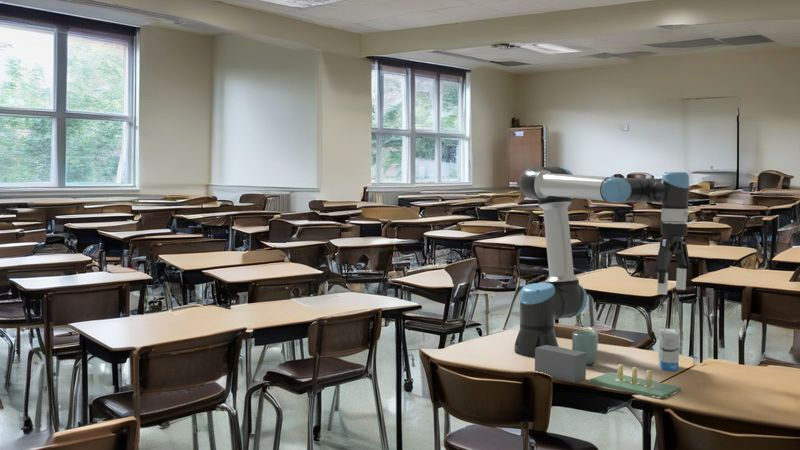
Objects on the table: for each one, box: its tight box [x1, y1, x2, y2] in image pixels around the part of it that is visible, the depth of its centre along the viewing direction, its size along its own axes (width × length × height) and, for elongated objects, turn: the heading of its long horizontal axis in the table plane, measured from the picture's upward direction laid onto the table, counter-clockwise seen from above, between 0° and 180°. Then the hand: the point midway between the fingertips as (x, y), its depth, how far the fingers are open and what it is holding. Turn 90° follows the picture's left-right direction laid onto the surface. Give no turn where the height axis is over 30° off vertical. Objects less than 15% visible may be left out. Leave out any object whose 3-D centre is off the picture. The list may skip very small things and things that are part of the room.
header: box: [588, 363, 682, 398], centre depth 204 cm, size 22×12×6 cm, turn 44°
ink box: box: [657, 328, 680, 372], centre depth 225 cm, size 8×5×12 cm, turn 168°
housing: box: [534, 345, 587, 384], centre depth 214 cm, size 14×6×8 cm, turn 44°
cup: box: [571, 330, 599, 366], centre depth 230 cm, size 8×8×10 cm
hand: (671, 291), depth 218 cm, fingers open, 13 cm apart
